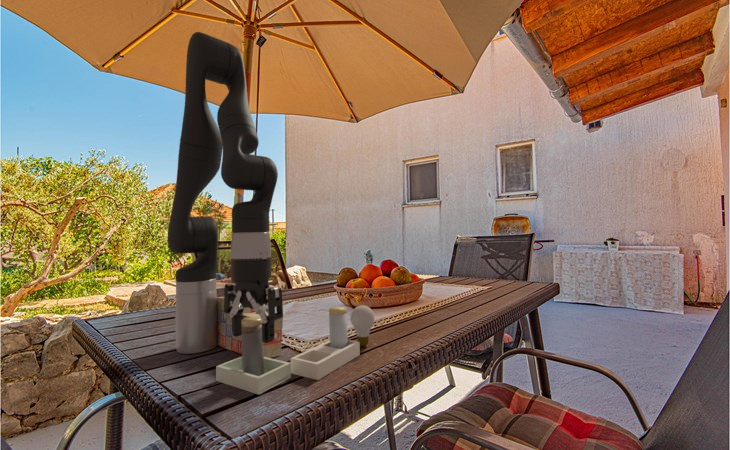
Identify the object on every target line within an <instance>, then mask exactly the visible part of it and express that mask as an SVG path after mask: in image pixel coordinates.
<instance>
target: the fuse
mask: <svg viewBox="0 0 730 450" xmlns="http://www.w3.org/2000/svg"><path fill="white" fill-rule="evenodd" d="M347 312H348V308H347V307H346V306H332V307H329V308H328V315H329V317H328V318H329V319H328V320H329V321H328V323H329V324H328V325H329V340H330V347H333V348H338V349H343V348H345V347H347V346H348V340H349V339H348V313H347Z"/></svg>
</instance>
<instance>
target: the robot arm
mask: <svg viewBox="0 0 730 450" xmlns="http://www.w3.org/2000/svg"><path fill="white" fill-rule="evenodd" d="M190 36H191V37H190V38H189V41H188V46H187V51H186V63H185V65H186V66H185V67H186V68H185V90H184V91H185V92H184V93H185V94H184V110H183V115H182V125H181V132H180V139H179V148H178V155H177V157H178V158H177V159H178V160H177V171H176V172H177V173H176V181H175V183H176V184H175V189H174V195H173V196H174V197H173V201H172V207H171V212H170V216H169V221H168V222H169V223H168V228H167V229H168V230H167V245H168V248H169V250H170V252H171V253H174V254H179V255H180V254H198V255H197V258H196V259H194V260H193V261H192V262H191V263H188V264H187V265H185V266H182V267H180V268H178V269H177V270H176V271H175V309H176V310H175V311H174V320H175V321H174V326H175V327H174V328H175V329H174V330H175V331H174V333H175V334H174V335H175V344H174V345H175V349H176V352H177V353H178V354H184V355H185V354H186V355H187V354H188V355H189V354H199V353H203V352H206V351H210V350H213V349H215V348H216V347H218V345H217V297H218V296H217V293H218V292H217V270H218V253H219V252H218V251H219V250H218V249H219V228H218V224H217V222H216V220H215V219H214V218H213V217H210V216H191V213H192V209H193V207H194V204H195V202H196V200H197V199H198V197H199V196H200V194H201V193H202V192H203V190H205V188H207V186H208V185H209V184H210V183H211V182H212V180H214V178H215V177H216V175H217V174H218V172H219V170H220V175H221V179H222V181H223V182H224V183H225V185H226V186H227V187H228V188H230V189H233V190H241V191H254V194H253V196H252V198H251V199H250V200H249V201H242V202H237V203H235V204H233V206H232V208H231V241H230V279H231V280H232V282H231V283H226V284H224V287H223V288H224V291H223V294H224V296H223V297H224V312H225V313H228V314H230V317H231V318H232V332H233V336H236V337H237V336H240V335H242V323H241V320H242V319H244V316H241V315H243V313H244V311H245V310H246V308H247V307H249V308H250V309H254V310H255V312H256V313H257V314H259V315H260V317H261V319H262V321H263V323H262V342H263V343H268V342H271V341H273V339H274V336H275V332H274V322H275V320H277V319H280V318H283V319H284V308H283V306H284V305H283V304H284V303H283V292H282V291H283V290H282V287H281V286H274V287H270V285H269V280H270V279H272V275H273V274H272V273H273V272H272V242H271V236H270V235H271V234H270V210H271V207H272V201H273V196H274V193H275V191H276V186H277V183H278V182H277V181H278V175H279V174H278V168H277V165H276V163H275V161H273V159H271V158H270V157H268V156H263V155H256V154H253V153H254V152H256V150H257V149H258V148H259V142H260V141H259V137H258V134H257V129H256V126H255V124H254V121H253V118H252V115H251V110H250V109H251V108H250V105H249V97H248V95H249V94H248V87H247V78H246V70H245V64H244V58H243V55H242V53H241V51H240V49H239V48H238V47H236V46H235V45H233V44H231V43H230V42H227V41H225V40H222V39H219V38H217V37H214V36H212V35H210V34H208V33H204V32H201V31H195V32H194V33H193V34H192V35H190ZM206 80H207V81H209V82H213V83H217V84H219V85H225V86H226V88H227V90H228V92H227V95H226V96H225V98H224V99H223V100H222V102H221V104H220V105H219V107H218V110H217V115H216V119H217V121H215V118H214V116H213V114H212V112H211V109H210V107H209V104H208V101H207V93H206ZM216 122H217V123H216ZM230 301H232V306H230ZM265 312H267V313H268V316H267V315H266V313H265Z"/></svg>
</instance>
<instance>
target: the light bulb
mask: <svg viewBox="0 0 730 450" xmlns="http://www.w3.org/2000/svg"><path fill="white" fill-rule="evenodd" d="M350 322H351V325H352V326H353V328H354V330H355V333H356V336H357V342H360V347H362V348H365V347H366V346H367V345H368V344H369V340H370V338H369V335H370V333H371V329H372V327H373V324H374V322H375V312H374V311H373V310H372V308H370V307H369V306H367V305H358V306H356V307H355V308H354V309H353V310H352V311H351V314H350Z"/></svg>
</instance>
